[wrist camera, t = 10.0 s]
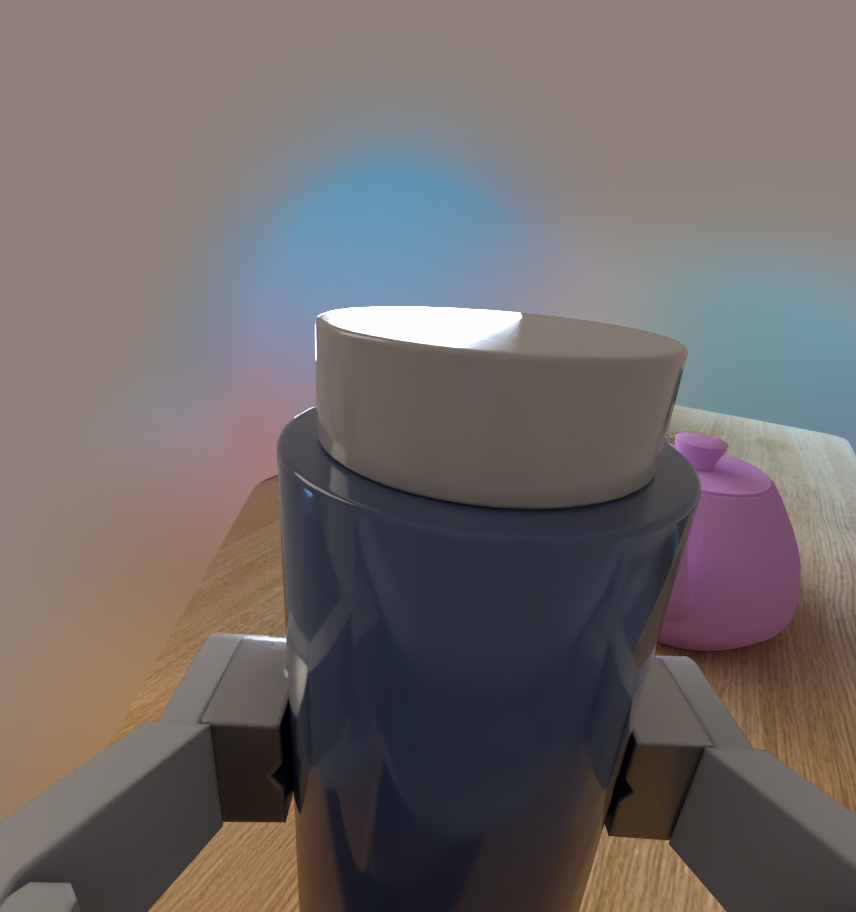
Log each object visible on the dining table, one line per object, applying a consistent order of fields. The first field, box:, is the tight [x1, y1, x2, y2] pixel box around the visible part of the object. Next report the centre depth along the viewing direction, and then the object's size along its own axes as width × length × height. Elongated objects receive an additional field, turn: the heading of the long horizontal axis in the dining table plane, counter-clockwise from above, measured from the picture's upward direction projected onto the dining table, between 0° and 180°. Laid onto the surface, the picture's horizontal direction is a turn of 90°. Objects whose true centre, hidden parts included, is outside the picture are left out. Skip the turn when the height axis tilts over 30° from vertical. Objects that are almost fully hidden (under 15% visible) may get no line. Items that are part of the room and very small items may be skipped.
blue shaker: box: [277, 306, 701, 912], centre depth 7 cm, size 4×4×12 cm
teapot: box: [658, 433, 801, 651], centre depth 39 cm, size 25×18×14 cm
